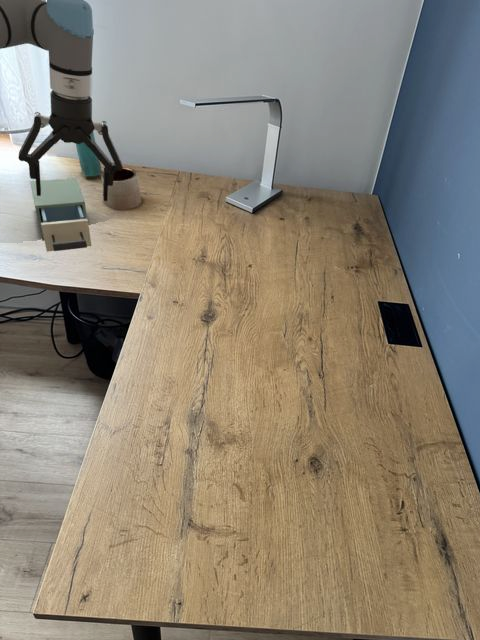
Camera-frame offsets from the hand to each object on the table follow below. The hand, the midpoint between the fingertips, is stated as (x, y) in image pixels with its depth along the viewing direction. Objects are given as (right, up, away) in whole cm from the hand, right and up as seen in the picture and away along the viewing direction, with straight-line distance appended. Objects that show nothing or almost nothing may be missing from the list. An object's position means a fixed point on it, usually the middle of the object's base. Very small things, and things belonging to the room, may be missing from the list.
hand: (72, 195), depth 110 cm
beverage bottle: (-16, +25, +60) cm, 67 cm away
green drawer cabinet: (-16, +2, +36) cm, 39 cm away
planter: (-2, +12, +48) cm, 50 cm away
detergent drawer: (-11, -5, +27) cm, 30 cm away
